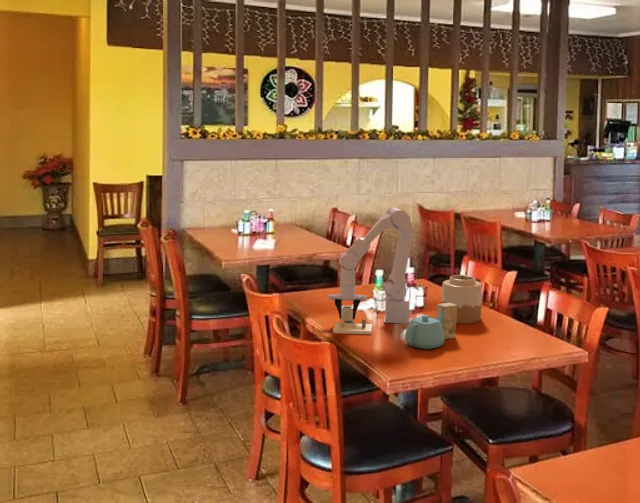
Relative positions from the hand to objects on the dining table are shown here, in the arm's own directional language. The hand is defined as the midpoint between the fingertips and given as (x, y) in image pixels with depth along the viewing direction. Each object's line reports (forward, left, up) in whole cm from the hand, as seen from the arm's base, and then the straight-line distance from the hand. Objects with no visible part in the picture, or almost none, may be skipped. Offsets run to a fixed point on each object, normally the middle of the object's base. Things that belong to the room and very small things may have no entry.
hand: (347, 318), depth 287 cm
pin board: (-3, +9, -2) cm, 10 cm away
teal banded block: (0, 0, -1) cm, 1 cm away
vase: (-44, -13, -2) cm, 46 cm away
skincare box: (-37, +14, -2) cm, 40 cm away
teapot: (-30, +24, -2) cm, 38 cm away
